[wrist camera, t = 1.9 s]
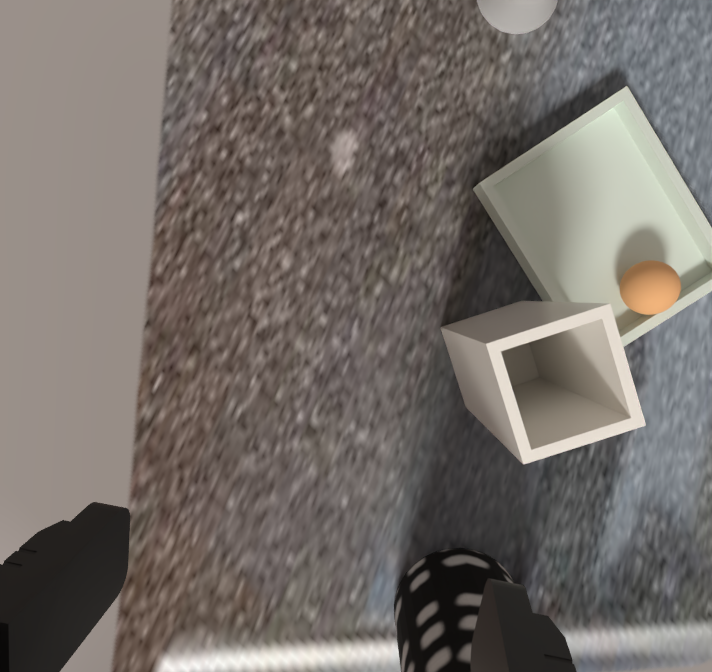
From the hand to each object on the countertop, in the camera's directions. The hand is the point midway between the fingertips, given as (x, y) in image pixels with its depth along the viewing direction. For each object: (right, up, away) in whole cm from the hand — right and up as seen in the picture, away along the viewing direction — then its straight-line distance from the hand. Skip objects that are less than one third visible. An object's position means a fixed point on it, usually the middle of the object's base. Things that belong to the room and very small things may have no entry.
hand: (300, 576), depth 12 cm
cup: (+10, +4, +23) cm, 25 cm away
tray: (+16, +12, +22) cm, 30 cm away
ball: (+19, +8, +20) cm, 29 cm away
